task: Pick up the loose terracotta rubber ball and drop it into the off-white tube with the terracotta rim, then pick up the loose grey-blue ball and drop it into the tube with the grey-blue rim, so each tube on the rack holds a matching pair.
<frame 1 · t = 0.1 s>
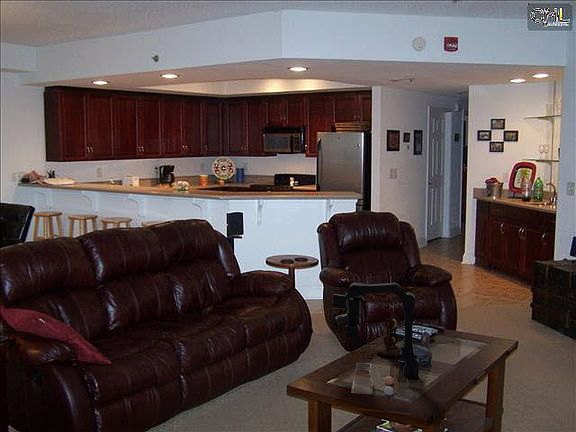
hand: (352, 341, 308), 15 cm above the table, fingers open, 9 cm apart
grey ball in tube: (363, 382, 294), point 1 cm above the table, touching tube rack
terracotta ball in tube: (362, 389, 285), point 1 cm above the table, touching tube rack
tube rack: (362, 387, 289), on the table
terracotta ball: (388, 385, 294), on the table
grey ball: (388, 395, 281), on the table
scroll: (390, 354, 338), on the table
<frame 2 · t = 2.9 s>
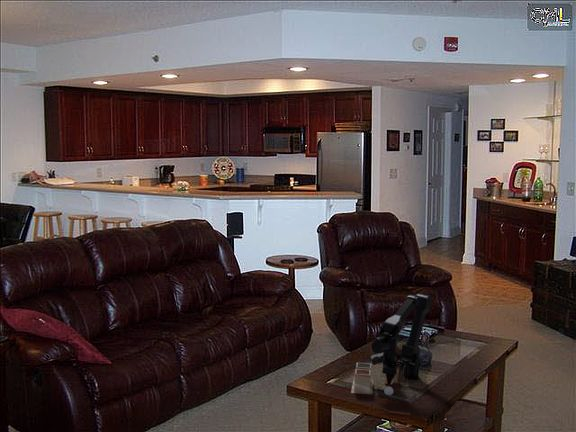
hand: (388, 382, 294), 1 cm above the table, fingers closed on terracotta ball, 4 cm apart
terracotta ball: (388, 385, 294), on the table, touching gripper
everything else where it was.
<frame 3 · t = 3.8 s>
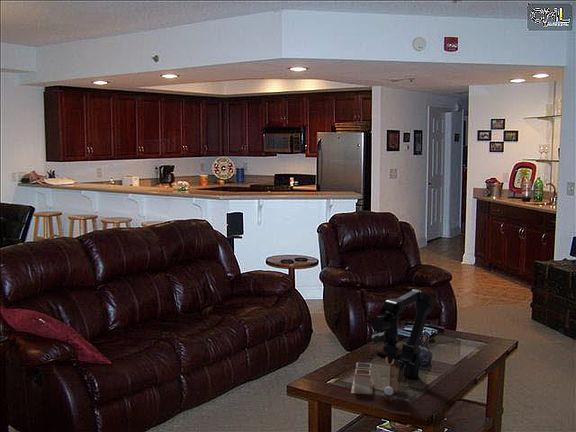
hand: (389, 362, 293), 11 cm above the table, fingers closed on terracotta ball, 4 cm apart
terracotta ball: (389, 364, 293), point 10 cm above the table, touching gripper
everything else where it was.
when the fingers open (11 cm above the table, at t = 5.1 s): terracotta ball drops 5 cm and tips over, resting on terracotta ball in tube.
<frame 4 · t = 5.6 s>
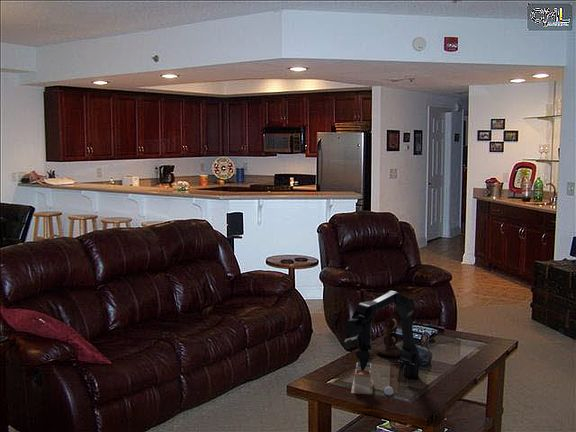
hand: (363, 367, 284), 11 cm above the table, fingers open, 9 cm apart
terracotta ball in tube: (362, 389, 285), point 1 cm above the table, tilted 10°, touching terracotta ball, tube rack
terracotta ball: (363, 380, 284), point 5 cm above the table, tilted 45°, touching terracotta ball in tube
everything else where it was.
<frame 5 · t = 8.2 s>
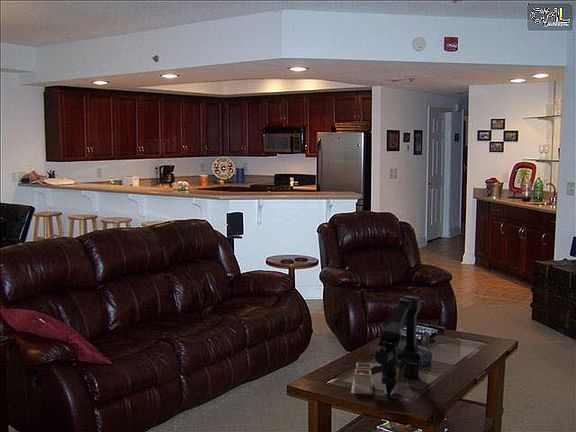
hand: (388, 393, 281), 1 cm above the table, fingers closed on grey ball, 4 cm apart
terracotta ball: (364, 379, 284), point 5 cm above the table, tilted 53°, touching terracotta ball in tube, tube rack
grey ball: (388, 395, 281), on the table, touching gripper
everything else where it was.
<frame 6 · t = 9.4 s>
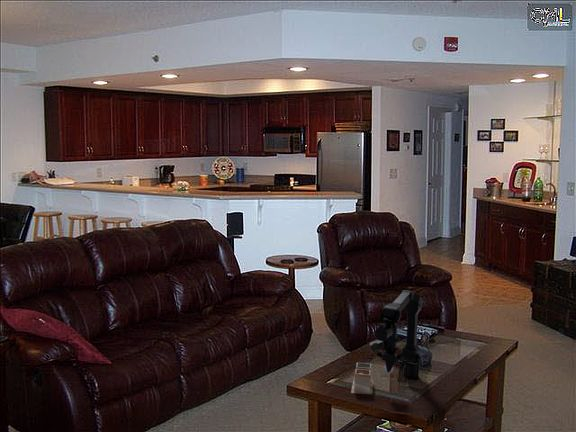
hand: (388, 370, 281), 11 cm above the table, fingers closed on grey ball, 4 cm apart
grey ball: (388, 373, 281), point 10 cm above the table, touching gripper
everything else where it was.
when the fingers open (11 cm above the table, at t = 10.5 s): grey ball drops 5 cm and tips over, resting on grey ball in tube.
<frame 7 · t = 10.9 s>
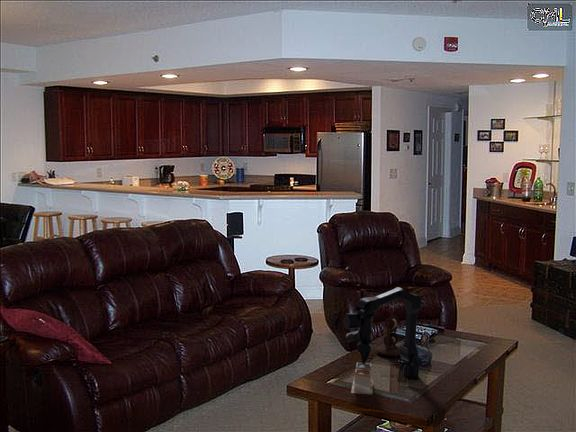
hand: (364, 360, 293), 11 cm above the table, fingers open, 8 cm apart
grey ball in tube: (363, 382, 294), point 1 cm above the table, tilted 6°, touching grey ball, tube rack
grey ball: (364, 373, 293), point 5 cm above the table, tilted 33°, touching grey ball in tube
everything else where it was.
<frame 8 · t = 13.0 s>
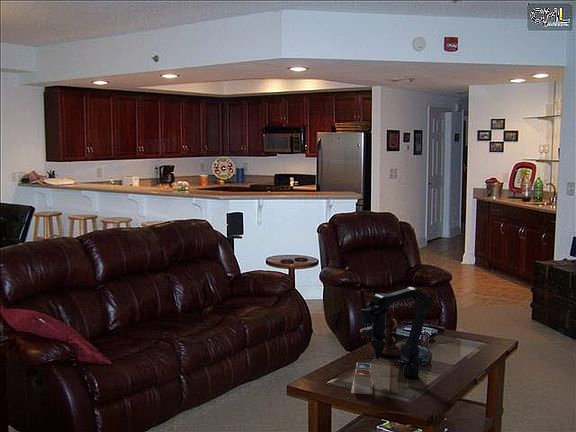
hand: (377, 356, 295), 13 cm above the table, fingers open, 9 cm apart
grey ball in tube: (363, 382, 294), point 1 cm above the table, tilted 22°, touching grey ball, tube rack
grey ball: (365, 372, 293), point 6 cm above the table, tilted 64°, touching grey ball in tube, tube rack
everything else where it was.
at the end: terracotta ball 0.7 cm from the target spot on the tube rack, point 5.3 cm above the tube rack's base; grey ball 1.0 cm from the target spot on the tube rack, point 5.6 cm above the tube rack's base; the gripper is holding nothing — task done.
